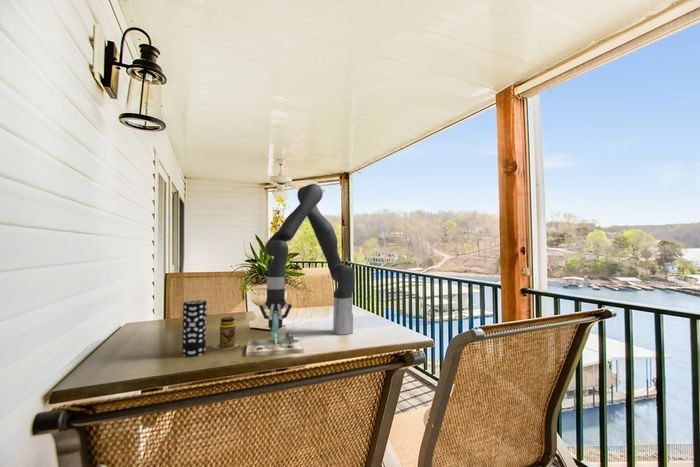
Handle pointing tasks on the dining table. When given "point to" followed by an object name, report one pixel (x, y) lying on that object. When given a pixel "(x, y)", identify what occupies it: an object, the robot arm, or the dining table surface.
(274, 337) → the sliding leg
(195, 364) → the dining table surface
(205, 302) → the white-spotted black cylinder
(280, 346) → the grey peg board
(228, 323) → the condiment
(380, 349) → the dining table surface
